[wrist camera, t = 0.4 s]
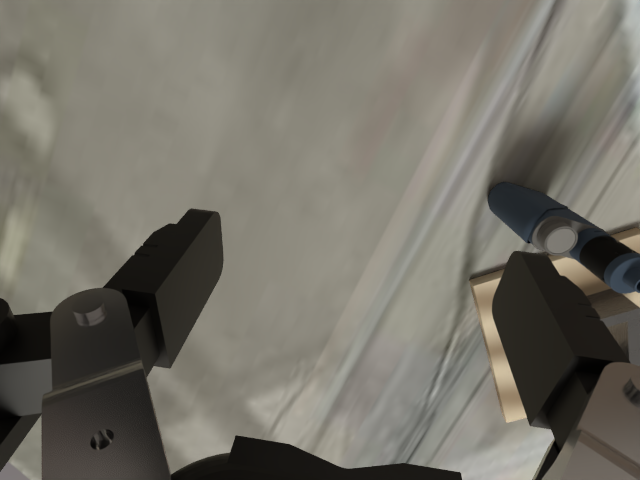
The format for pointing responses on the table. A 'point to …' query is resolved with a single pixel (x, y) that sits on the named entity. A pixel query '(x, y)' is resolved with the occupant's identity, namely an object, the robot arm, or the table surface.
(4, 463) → the robot arm
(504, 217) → the vaping device
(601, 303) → the square socket
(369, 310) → the table surface
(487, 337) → the mounting board
